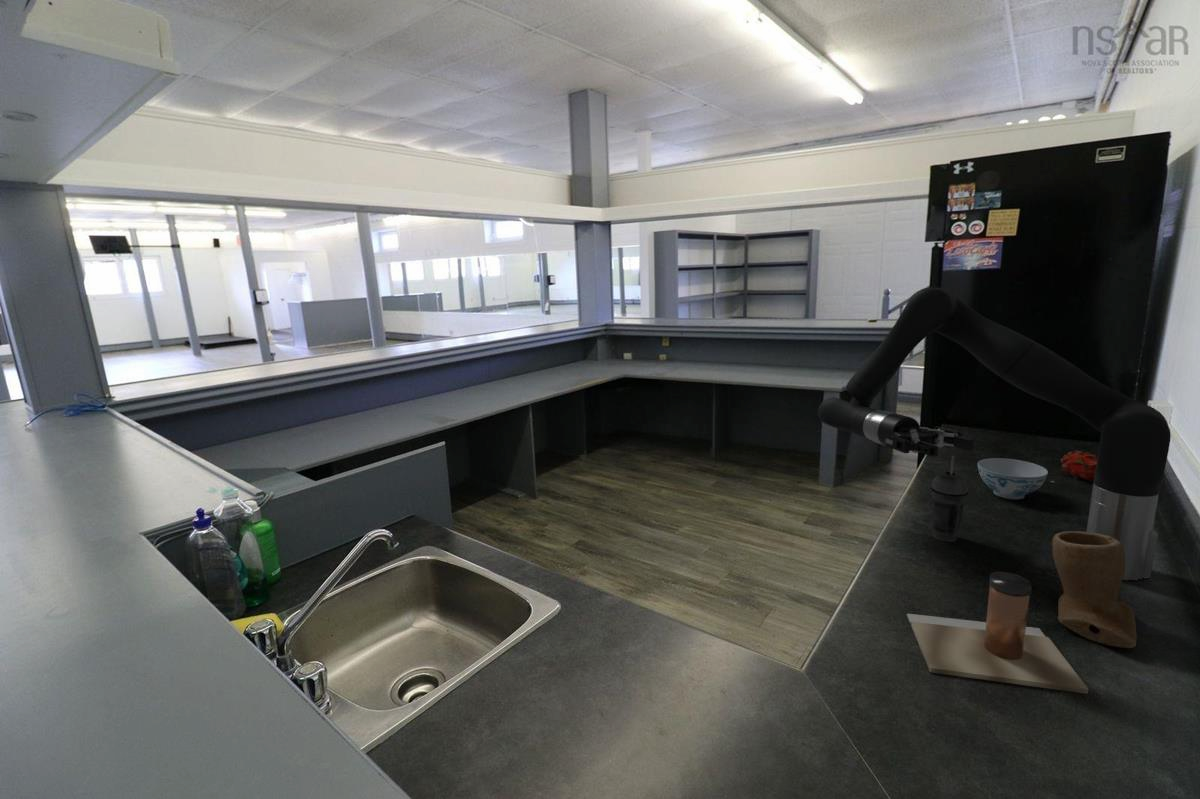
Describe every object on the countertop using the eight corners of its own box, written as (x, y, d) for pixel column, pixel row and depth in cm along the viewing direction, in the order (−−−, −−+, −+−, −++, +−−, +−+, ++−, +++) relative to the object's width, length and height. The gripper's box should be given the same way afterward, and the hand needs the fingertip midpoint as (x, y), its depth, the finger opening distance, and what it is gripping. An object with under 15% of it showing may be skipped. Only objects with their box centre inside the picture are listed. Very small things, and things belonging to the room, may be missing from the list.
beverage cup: (961, 533, 128) (969, 450, 124) (966, 547, 122) (975, 460, 118) (925, 528, 132) (931, 447, 127) (928, 542, 125) (935, 457, 121)
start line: (1038, 629, 94) (1039, 628, 94) (1045, 638, 92) (1045, 636, 91) (906, 615, 99) (907, 613, 99) (910, 622, 97) (910, 621, 97)
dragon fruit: (1055, 476, 163) (1106, 494, 153) (1051, 466, 157) (1104, 484, 148) (1068, 452, 163) (1121, 467, 154) (1065, 441, 158) (1119, 456, 149)
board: (1047, 641, 91) (1048, 637, 91) (1087, 693, 80) (1088, 689, 79) (911, 625, 96) (911, 621, 96) (930, 672, 85) (930, 667, 85)
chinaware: (982, 502, 144) (985, 474, 143) (969, 482, 158) (971, 456, 156) (1053, 508, 139) (1057, 479, 137) (1033, 487, 152) (1037, 460, 151)
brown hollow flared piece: (1047, 590, 105) (1057, 516, 102) (1134, 613, 97) (1148, 534, 94) (1037, 628, 94) (1048, 547, 91) (1134, 658, 86) (1150, 570, 83)
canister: (1015, 641, 90) (1023, 573, 88) (1029, 662, 85) (1037, 591, 83) (978, 637, 91) (985, 570, 89) (990, 657, 87) (997, 587, 84)
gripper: (863, 417, 120) (925, 434, 105) (917, 409, 124) (985, 425, 108) (862, 450, 122) (923, 472, 106) (915, 441, 125) (982, 462, 110)
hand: (954, 448), depth 107 cm, fingers open, 8 cm apart
